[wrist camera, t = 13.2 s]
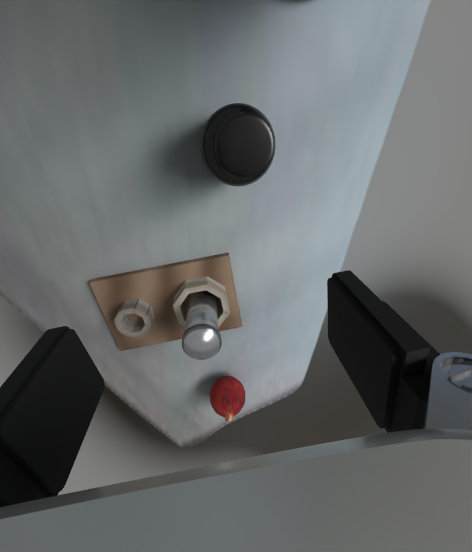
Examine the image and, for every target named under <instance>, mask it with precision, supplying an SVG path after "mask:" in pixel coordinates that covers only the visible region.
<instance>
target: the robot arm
mask: <svg viewBox="0 0 472 552" xmlns="http://www.w3.org/2000/svg"><path fill="white" fill-rule="evenodd" d="M327 286H328V338H329V341H330V344H331V346H332V348H333V349H334V351H335V353H336V355H337V356H338V358H339V360H340V361H341V363H342V365H343V367H344V368H345V370H346V372H347V374H348V375H349V377H350V379H351V380H352V382H353V384H354V385H355V387H356V389H357V391H358V393H359V394H360V396H361V398H362V399H363V401H364V403H365V405H366V406H367V408H368V410H369V411H370V413H371V415H372V417H373V418H374V420H375V422H376V423H377V425H378V426H379V427H380V428H385V429H386V431H387V432H388V433H382V434H376V435H371V436H365V437H359V438H353V439H347V440H341V441H335V442H330V443H324V444H319V445H313V446H309V447H303V448H298V449H292V450H287V451H282V452H277V453H271V454H266V455H261V456H256V457H250V458H245V459H240V460H235V461H230V462H224V463H219V464H214V465H209V466H204V467H199V468H194V469H188V470H184V471H178V472H173V473H168V474H163V475H158V476H153V477H148V478H143V479H138V480H133V481H128V482H123V483H118V484H112V485H108V486H103V487H98V488H93V489H88V490H83V491H78V492H73V493H68V494H63V495H58V493H59V492H60V491H61V490H62V489H63V488H64V486H65V484H66V481H67V479H68V477H69V474H70V472H71V469H72V467H73V464H74V461H75V459H76V457H77V454H78V452H79V449H80V447H81V444H82V442H83V440H84V437H85V435H86V432H87V430H88V427H89V425H90V422H91V420H92V417H93V415H94V412H95V410H96V407H97V405H98V403H99V400H100V397H101V395H102V393H103V390H104V380H103V378H102V376H101V374H100V373H99V371H98V369H97V367H96V366H95V364H94V362H93V361H92V359H91V357H90V356H89V354H88V352H87V350H86V349H85V347H84V345H83V344H82V342H81V340H80V339H79V337H78V335H77V333H76V332H75V331H74V330H73V329H70V328H69V327H67V326H63V327H58V328H53V329H49V330H47V331H46V332H45V333H44V334H43V336H42V337H41V338H40V339H39V340H38V342H37V343H36V344H35V345H34V347H33V348H32V349H31V350H30V352H29V353H28V354H27V355H26V356H25V358H24V359H23V360H22V361H21V363H20V364H19V365H18V366H17V367H16V369H15V370H14V371H13V372H12V374H11V375H10V376H9V377H8V378H7V380H6V381H5V382H4V383H3V385H2V386H1V387H0V552H472V355H471V354H466V353H459V352H448V353H444V354H441V355H440V354H439V353H438V352H437V351H436V350H435V349H434V348H433V347H432V346H431V345H430V344H429V343H428V342H427V341H425V340H424V339H423V338H422V337H421V336H420V335H419V334H418V333H417V332H416V331H415V330H414V329H413V328H412V327H411V326H410V325H409V324H408V323H407V322H405V321H404V319H403V318H401V317H400V316H399V315H398V314H397V313H396V312H395V311H394V310H393V309H392V308H391V307H390V306H389V305H388V304H386V303H385V302H383V301H381V300H380V299H379V298H378V297H377V296H376V295H375V294H374V293H373V292H372V291H371V290H370V289H369V288H368V287H367V286H366V285H364V284H363V282H362V281H360V280H359V279H358V278H357V277H356V276H355V275H354V274H353V273H352V272H351V271H344V272H338V273H333V275H332V278H329V279H328V282H327ZM57 495H58V496H57Z"/></svg>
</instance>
